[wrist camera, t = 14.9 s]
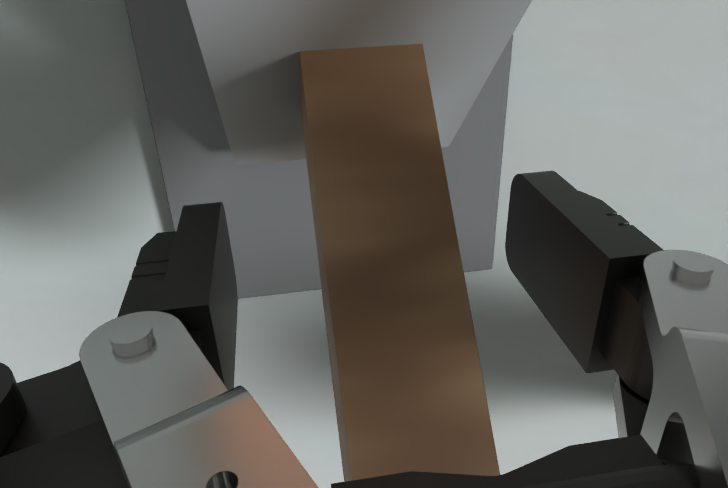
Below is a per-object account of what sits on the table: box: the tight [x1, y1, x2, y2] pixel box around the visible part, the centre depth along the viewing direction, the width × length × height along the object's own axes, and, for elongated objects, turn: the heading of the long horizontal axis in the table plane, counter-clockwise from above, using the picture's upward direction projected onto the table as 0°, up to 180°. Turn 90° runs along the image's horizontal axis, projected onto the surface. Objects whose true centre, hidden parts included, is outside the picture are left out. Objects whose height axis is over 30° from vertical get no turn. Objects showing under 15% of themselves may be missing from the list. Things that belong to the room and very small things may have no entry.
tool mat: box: [125, 0, 513, 299], centre depth 17 cm, size 10×10×1 cm
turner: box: [186, 0, 532, 482], centre depth 12 cm, size 6×8×9 cm
